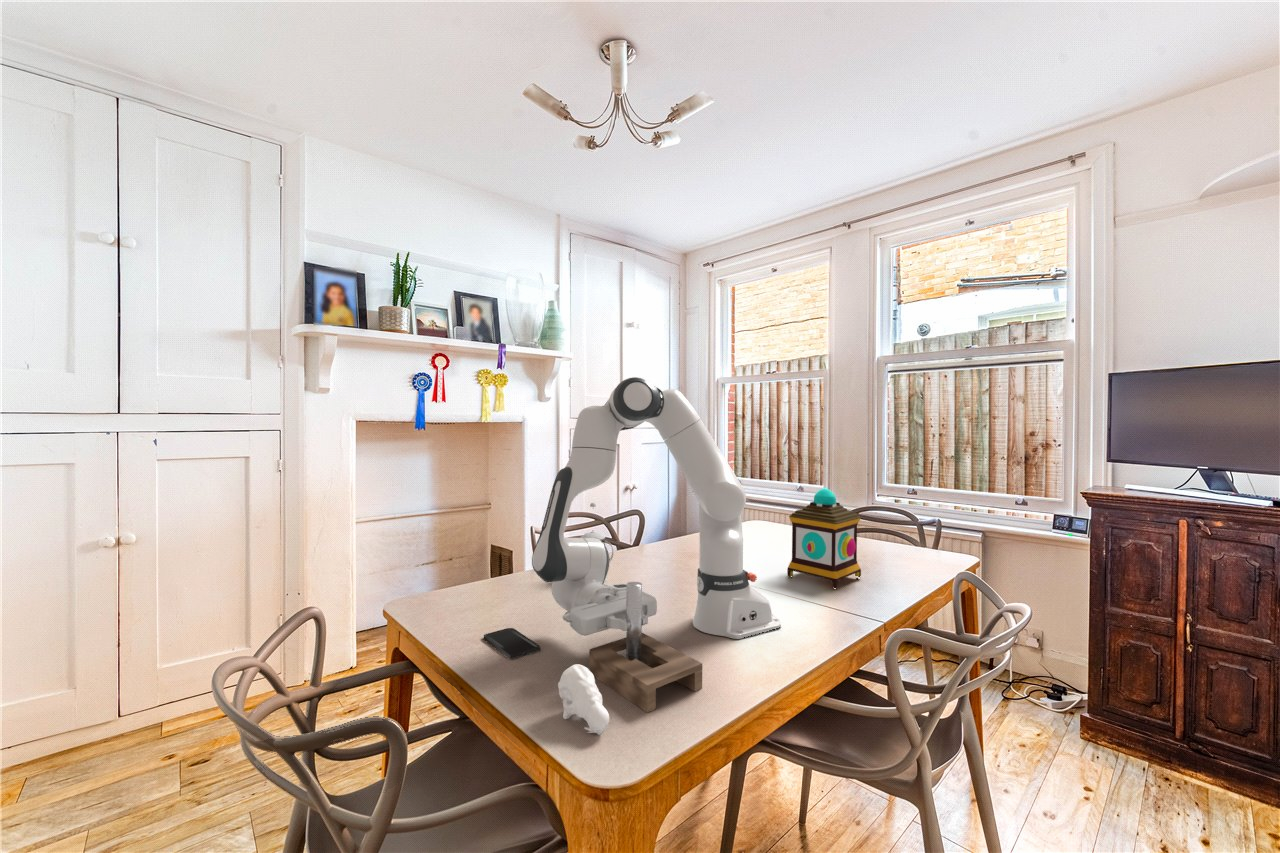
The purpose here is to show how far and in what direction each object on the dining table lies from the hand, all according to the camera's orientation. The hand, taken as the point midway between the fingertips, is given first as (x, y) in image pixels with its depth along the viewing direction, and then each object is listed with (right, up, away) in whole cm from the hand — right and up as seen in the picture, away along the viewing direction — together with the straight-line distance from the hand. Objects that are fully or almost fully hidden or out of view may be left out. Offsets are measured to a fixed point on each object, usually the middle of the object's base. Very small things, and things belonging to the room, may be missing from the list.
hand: (636, 623), depth 110 cm
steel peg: (-1, -10, +1) cm, 10 cm away
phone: (-30, -11, +15) cm, 35 cm away
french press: (-14, -10, +66) cm, 68 cm away
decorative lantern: (+62, -10, +67) cm, 92 cm away
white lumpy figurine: (-9, -11, -16) cm, 22 cm away
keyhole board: (+2, -11, -2) cm, 11 cm away
